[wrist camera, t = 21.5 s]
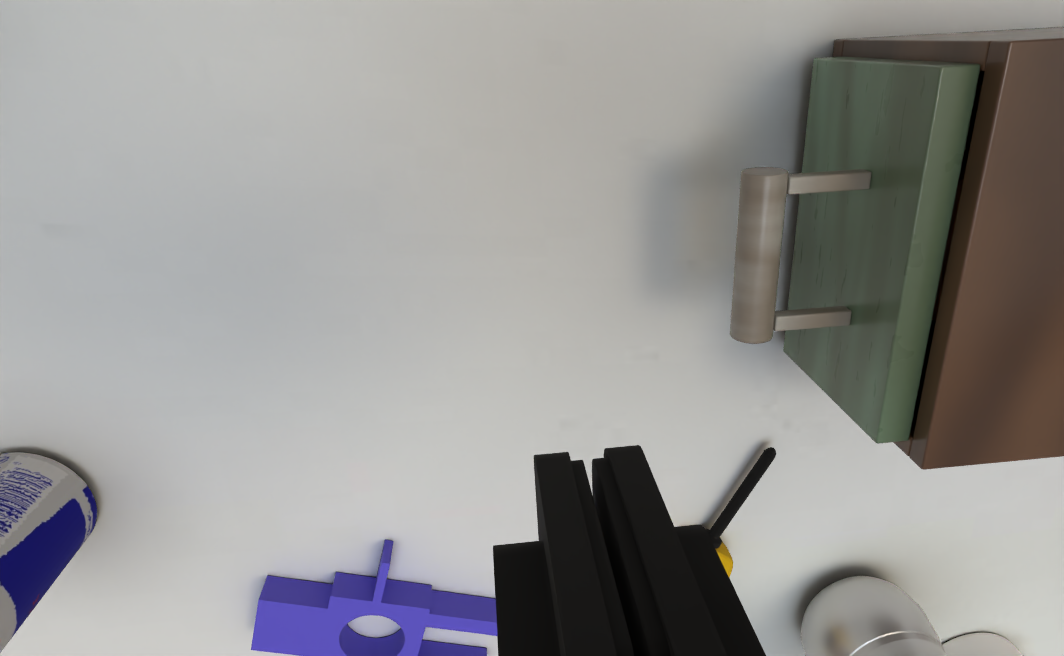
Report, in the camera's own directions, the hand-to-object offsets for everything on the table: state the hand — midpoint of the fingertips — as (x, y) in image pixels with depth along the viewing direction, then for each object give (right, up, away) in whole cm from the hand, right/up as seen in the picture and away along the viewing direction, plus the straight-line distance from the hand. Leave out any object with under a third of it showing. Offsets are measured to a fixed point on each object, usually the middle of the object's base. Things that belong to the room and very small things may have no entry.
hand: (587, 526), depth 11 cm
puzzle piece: (-9, -12, +26) cm, 30 cm away
